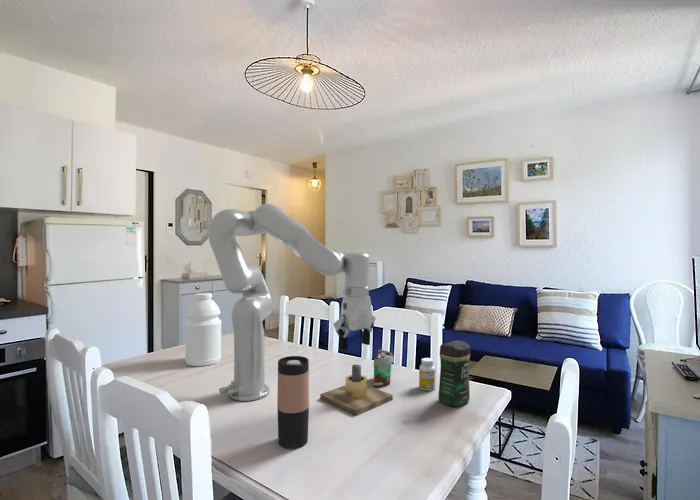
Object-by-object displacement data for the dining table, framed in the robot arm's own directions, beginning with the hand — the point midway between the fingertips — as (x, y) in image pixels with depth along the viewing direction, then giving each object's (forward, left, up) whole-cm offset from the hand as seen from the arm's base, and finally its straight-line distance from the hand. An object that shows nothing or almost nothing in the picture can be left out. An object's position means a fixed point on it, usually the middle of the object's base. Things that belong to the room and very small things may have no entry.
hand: (354, 346), depth 117 cm
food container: (+17, +3, -17) cm, 24 cm away
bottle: (-19, +70, -17) cm, 74 cm away
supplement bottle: (+24, -10, -17) cm, 31 cm away
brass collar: (0, 0, -15) cm, 15 cm away
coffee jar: (+21, -22, -17) cm, 35 cm away
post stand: (0, 0, -17) cm, 17 cm away
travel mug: (-29, -7, -17) cm, 34 cm away
